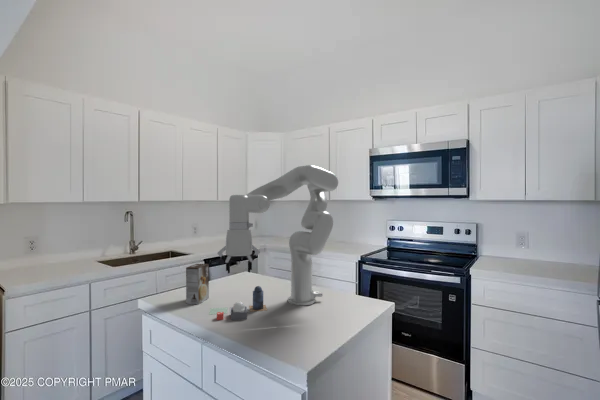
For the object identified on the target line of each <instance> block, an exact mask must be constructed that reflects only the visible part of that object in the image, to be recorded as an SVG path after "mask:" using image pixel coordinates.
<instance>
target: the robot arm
mask: <svg viewBox="0 0 600 400" xmlns="http://www.w3.org/2000/svg"><path fill="white" fill-rule="evenodd" d="M305 185H306V186H307V189H308V191H309V196H310V199H309V203H308V205H307V207H306V210H305V212H304V214H303V216H302V219H301V222H300V224H301V227H302V228H303V229H304V230H305V231H303V230H302V231H301V230H299V231H295V232H293V233H292V234H291V235H290V237H289V239H288V246H289V251H290V263H291V264H290V272H291V273H290V296H288V297H287V302H288V303H289V304H290V305H294V306H310V305H313V304H315V303H316V298H323V292H321V291H320V292H319V291H313V259H312V256H318V255H319V254H321V253H322V252H323V250H324V248H325V246H326V244H327V243H328V240H329V237H330V236H331V232H332V230H333V225H334V219H333V215H332V214H331V213H330V212H328V211H327V209H328V207H327V206H328V198H327V195H326V193H325V192H333V191H335V190H336V189H337V188H338V185H339V178H338V177H337V175H336V174H335V173H334V172H331V171H329V170H327V169H324V168H322V167H319V166H317V165H313V164H307V165H306V164H305V165H301V166H299V165H298V166H296V167H294V168H293V169H291V170H289V171H288V172H286V173H284V174H283V175H281V176H279V177H278V178H276V179H274V180H272V181H269V182H268V183H265V184H262V185H261V186H259V187H256V188H254V189H253V190H252V191H250V192H248V193H246V194H233V195H230V196H229V202H228V203H229V205H228V206H229V207H228V208H229V211H228V213H229V218H228V219H229V221H228V222H229V223H228V226H229V227H228V228H229V229H227V231H226V237H225V246H223V247H222V248H221V249H219V251H217V255H218V256H219V257H220V258H221V259H222V260H223V262H225V272H227V274H230V273H231V262H230V260H231V258H232V257H247V260H248V261H247V272H248V273H251V270H253V262H254V260H255V259H256V258H257V257H258V255H260V253H261V250H259V248H257V247H256V246H254V245H253V237H252V230H251V229H250V228H251V227H254V225H253V224H254V223H251V222H250V213H251V214H264V213H265V212H267V211H268V210H269V208H270V205H271V203H270V201H271V202H272V201H273V200H279V199H282V198H285V197H288V196H290V195H291V194H292V193H294V192H295V191H297V190H298V189H299V188H301V187H303V186H305ZM253 251H254V254H253ZM224 252H225V254H226V256H225V255H224V254H223V253H224Z"/></svg>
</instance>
